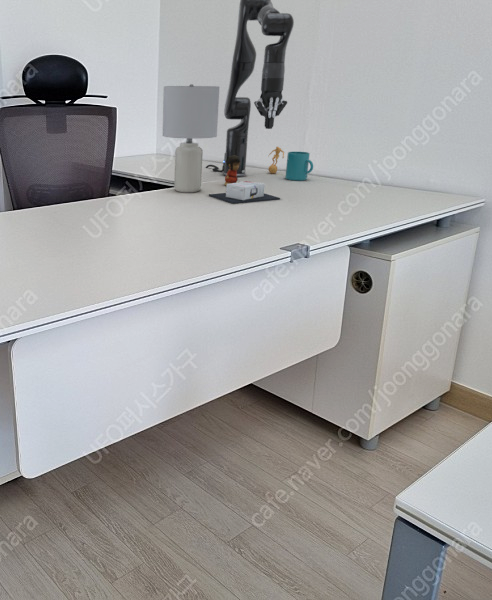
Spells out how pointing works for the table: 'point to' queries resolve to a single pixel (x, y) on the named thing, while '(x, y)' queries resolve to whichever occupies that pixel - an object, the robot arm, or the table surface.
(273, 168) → the figurine
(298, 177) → the cup
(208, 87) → the lamp
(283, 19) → the robot arm
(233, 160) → the figurine
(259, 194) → the ink box
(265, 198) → the mat
